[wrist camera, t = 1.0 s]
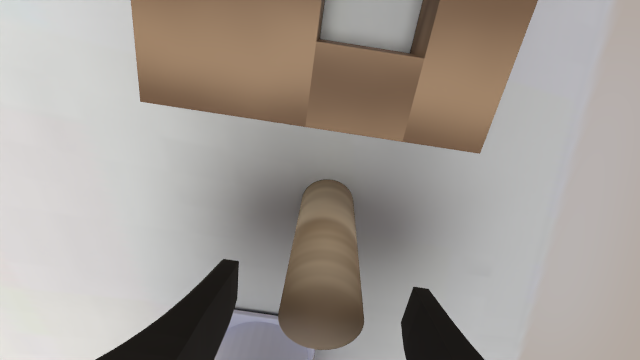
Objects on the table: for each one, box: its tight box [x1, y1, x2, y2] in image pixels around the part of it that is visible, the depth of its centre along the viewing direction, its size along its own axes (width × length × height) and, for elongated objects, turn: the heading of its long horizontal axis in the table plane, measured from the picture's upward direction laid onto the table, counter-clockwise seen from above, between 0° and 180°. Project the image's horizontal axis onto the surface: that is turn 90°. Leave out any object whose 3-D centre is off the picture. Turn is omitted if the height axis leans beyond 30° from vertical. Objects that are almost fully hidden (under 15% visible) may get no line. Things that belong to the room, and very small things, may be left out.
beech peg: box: [278, 180, 364, 350], centre depth 16 cm, size 3×3×9 cm
